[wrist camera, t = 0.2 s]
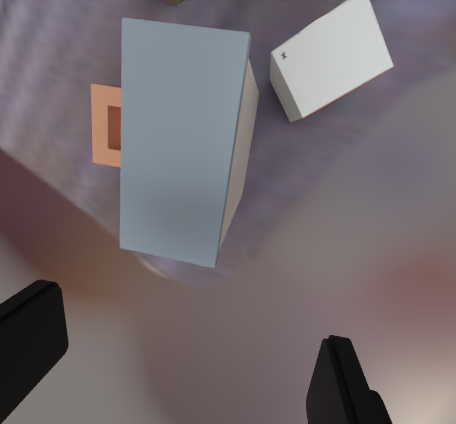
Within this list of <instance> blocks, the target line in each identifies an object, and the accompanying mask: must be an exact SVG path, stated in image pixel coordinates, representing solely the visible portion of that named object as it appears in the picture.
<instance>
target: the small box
mask: <svg viewBox="0 0 456 424" xmlns="http://www.w3.org/2000/svg"><path fill="white" fill-rule="evenodd" d="M391 68H393V63H392V61H391V58H390V55H389V52H388V50H387V47H386V44H385V41H384V38H383V36H382V33H381V30H380V27H379V24H378V22H377V19H376V16H375V13H374V10H373V8H372V5H371V2H370V0H347V1H345V2H344V3H342V4H341V5H339V6H338V7H336V8H335V9H333V10H332V11H330V12H329V13H327V14H325V15H324V16H322V17H321V18H319V19H317V20H316V21H314V22H313V23H311V24H310V25H308V26H307V27H305V28H304V29H303V30H301V31H300V32H299V33H298V34H296V35H295V36H293V37H292V38H290V39H289V40H287V41H286V42H285V43H283V44H282V45H280V46H279V47H277V48H276V49H274V50H273V51H272V52H271V62H270V82H271V84H272V86H273V88H274V90H275V92H276V94H277V96H278V98H279V100H280V102H281V104H282V107H283V109H284V111H285V113H286V115H287V117H288V119H289V121H290V123H291V122H294V121H297V120H299V119H303V118H305V117H307V116H309V115H311V114H313V113H315V112H316V111H318V110H320V109H322V108H324V107H325V106H327V105H329V104H331V103H333V102H334V101H336V100H338V99H340V98H341V97H343V96H345V95H346V94H348V93H350V92H352V91H353V90H355V89H357V88H359V87H360V86H362V85H364V84H365V83H367V82H369V81H371V80H372V79H374V78H376V77H378V76H380V75H381V74H383V73H385V72H386V71H388V70H390V69H391Z"/></svg>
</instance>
